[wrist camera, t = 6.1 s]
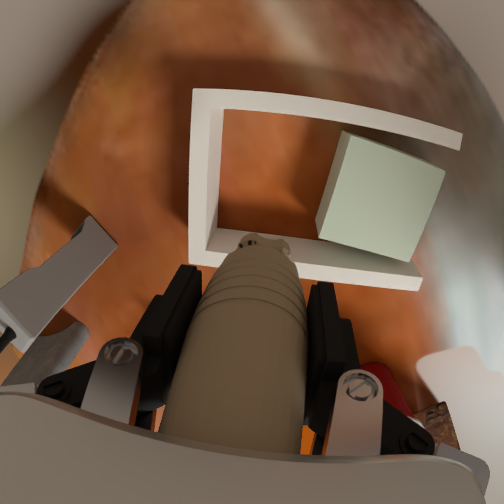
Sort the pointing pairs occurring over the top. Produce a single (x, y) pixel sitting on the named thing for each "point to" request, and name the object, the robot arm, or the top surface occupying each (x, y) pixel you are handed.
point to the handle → (244, 355)
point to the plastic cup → (390, 388)
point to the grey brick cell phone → (51, 285)
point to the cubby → (302, 250)
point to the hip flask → (48, 355)
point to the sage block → (377, 197)
